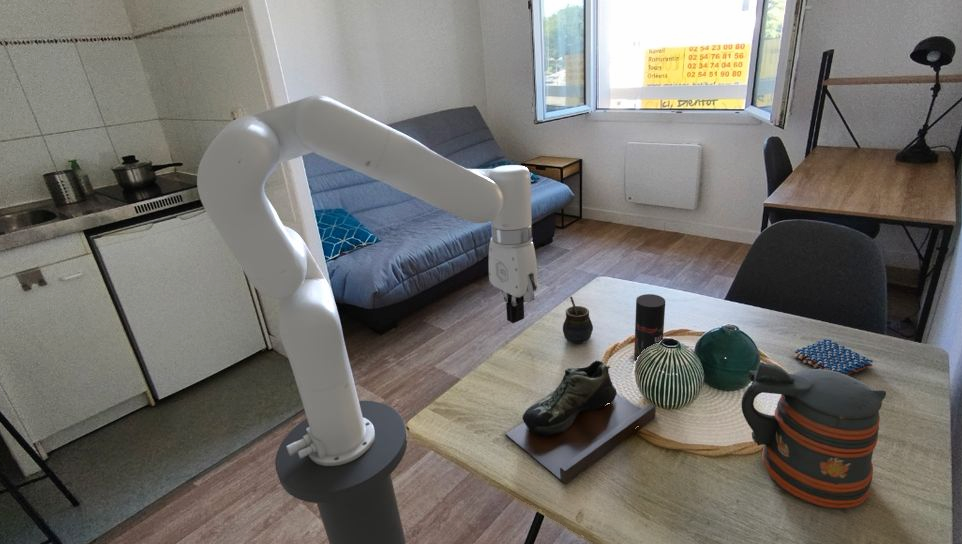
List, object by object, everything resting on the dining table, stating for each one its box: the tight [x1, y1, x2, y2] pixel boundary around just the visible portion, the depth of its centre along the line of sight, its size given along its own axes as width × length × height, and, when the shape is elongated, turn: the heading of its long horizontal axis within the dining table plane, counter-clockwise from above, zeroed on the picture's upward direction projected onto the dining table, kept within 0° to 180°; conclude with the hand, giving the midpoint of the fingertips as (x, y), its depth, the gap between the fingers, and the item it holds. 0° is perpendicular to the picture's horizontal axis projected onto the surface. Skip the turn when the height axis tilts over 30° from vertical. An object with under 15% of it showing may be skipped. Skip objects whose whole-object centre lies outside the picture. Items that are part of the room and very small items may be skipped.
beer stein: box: [741, 361, 887, 510], centre depth 78 cm, size 19×15×20 cm
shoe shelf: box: [505, 394, 657, 486], centre depth 95 cm, size 24×16×3 cm, turn 127°
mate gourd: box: [562, 296, 594, 345], centre depth 122 cm, size 7×8×10 cm
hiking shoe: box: [521, 360, 618, 437], centre depth 98 cm, size 8×21×9 cm, turn 123°
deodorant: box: [633, 293, 666, 362], centre depth 110 cm, size 6×6×15 cm
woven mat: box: [793, 338, 874, 376], centre depth 106 cm, size 10×11×2 cm
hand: (515, 319), depth 101 cm, fingers closed
